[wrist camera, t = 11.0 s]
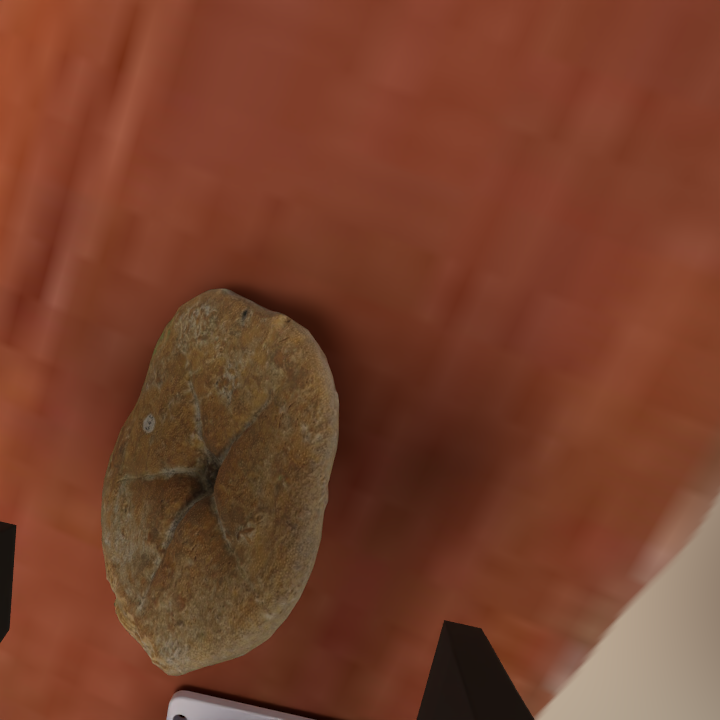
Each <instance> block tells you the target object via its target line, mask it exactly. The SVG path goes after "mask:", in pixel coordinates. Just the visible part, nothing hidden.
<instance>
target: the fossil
mask: <svg viewBox="0 0 720 720" xmlns="http://www.w3.org/2000/svg"><path fill="white" fill-rule="evenodd" d="M338 437H339V399H338V394H337V391H336V389H335V384H334V379H333V375H332V372H331V370H330V367H329V365H328V362H327V358H326V356H325V354H324V353H323V351H322V349H321V348H320V346H319V344H318V343H317V342H316V340H315V339H314V338H313V336H312V335H311V333H310V332H309V330H308V329H306V328H304V327H303V326H301V325H300V324H298V323H297V322H295V321H294V320H292V319H291V318H289V317H288V316H286V315H285V314H282V313H279V312H273V311H271V310H268V309H266V308H264V307H262V306H260V305H258V304H257V303H255V302H253V301H251V300H249V299H247V298H245V297H242V296H240V295H238V294H236V293H235V292H233V291H231V290H228V289H224V288H223V289H212V290H208V291H206V292H204V293H202V294H200V295H198V296H196V297H195V298H193V299H191V300H190V301H188V302H186V303H185V304H183V305H182V306H180V307H179V308H178V310H177V312H176V314H175V315H174V317H173V319H172V320H171V321H170V322H169V323H168V324H167V325H166V327H165V329H164V331H163V333H162V335H161V337H160V338H159V340H158V342H157V344H156V346H155V349H154V352H153V355H152V358H151V361H150V364H149V369H148V373H147V376H146V379H145V381H144V384H143V387H142V390H141V394H140V396H139V399H138V401H137V403H136V405H135V407H134V409H133V411H132V412H131V414H130V415H129V417H128V418H127V420H126V422H125V423H124V425H123V427H122V428H121V431H120V433H119V436H118V439H117V442H116V444H115V447H114V450H113V452H112V454H111V456H110V460H109V464H108V467H107V471H106V475H105V478H104V484H103V492H102V509H101V526H102V547H103V554H104V558H105V567H106V575H107V579H108V581H109V582H110V585H111V588H112V590H113V592H114V593H115V595H116V600H115V603H114V606H115V608H116V609H115V611H116V614H117V616H118V619H119V621H120V623H121V624H122V625H123V626H124V628H125V629H126V630H127V631H128V632H129V634H130V635H131V636H132V637H133V638H134V639H136V640H137V642H138V643H139V644H141V646H142V647H143V648H144V650H145V651H146V652H147V654H148V655H149V656H150V658H151V660H152V663H153V664H155V665H156V666H158V667H159V668H160V669H162V670H163V671H164V672H165V673H166V674H168V675H173V676H179V675H183V674H186V673H188V672H191V671H194V670H197V669H200V668H203V667H206V666H210V665H215V664H218V663H221V662H224V661H227V660H231V659H234V658H237V657H240V656H242V655H245V654H246V653H248V652H249V651H251V650H252V649H254V648H255V647H257V646H259V645H260V644H262V643H263V642H265V641H266V640H268V639H269V638H270V637H271V636H272V635H273V633H274V632H275V631H276V630H277V629H278V628H279V626H280V625H281V624H282V623H283V622H284V621H285V620H286V618H287V617H288V616H289V614H290V612H291V611H292V609H293V608H294V606H295V605H296V603H297V602H298V600H299V599H300V597H301V594H302V592H303V590H304V588H305V586H306V584H307V581H308V579H309V577H310V574H311V572H312V569H313V567H314V564H315V560H316V556H317V553H318V549H319V545H320V541H321V537H322V525H323V517H324V511H325V508H326V505H327V503H328V482H329V479H330V474H331V470H332V466H333V462H334V458H335V454H336V450H337V445H338Z"/></svg>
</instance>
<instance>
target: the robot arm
mask: <svg viewBox="0 0 720 720" xmlns="http://www.w3.org/2000/svg"><path fill="white" fill-rule="evenodd" d="M15 537H16V525H13V524H9V523H4V522H0V642H1V641H2V639H3V638H4V637H5V635H6V634H7V632H8V631H9V628H10V613H11V598H12V582H13V567H14V552H15ZM179 715H183V716H185V717H186V718H182V717H180V716H179ZM166 720H315V719H310V718H306V717H301V716H297V715H293V714H288V713H284V712H279V711H275V710H270V709H266V708H262V707H257V706H253V705H248V704H244V703H239V702H235V701H231V700H226V699H222V698H217V697H213V696H209V695H204V694H200V693H195V692H191V691H185V690H181V691H178V692H176V693H175V694H174V695H173V696H172V699H171V701H170V703H169V706H168V713H167V719H166ZM417 720H534V718H533V716H532V715H531V713H530V712H529V710H528V708H527V707H526V705H525V703H524V702H523V700H522V698H521V697H520V695H519V693H518V692H517V690H516V688H515V686H514V685H513V683H512V681H511V679H510V678H509V676H508V674H507V673H506V671H505V669H504V667H503V665H502V664H501V662H500V660H499V658H498V657H497V655H496V653H495V651H494V650H493V648H492V646H491V644H490V642H489V641H488V639H487V637H486V636H485V634H484V632H483V631H482V629H481V628H477V627H473V626H468V625H464V624H459V623H455V622H450V621H446V620H444V623H443V627H442V630H441V634H440V638H439V641H438V645H437V648H436V652H435V656H434V659H433V663H432V666H431V670H430V674H429V677H428V681H427V684H426V688H425V692H424V695H423V699H422V702H421V706H420V709H419V713H418V717H417Z"/></svg>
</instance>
